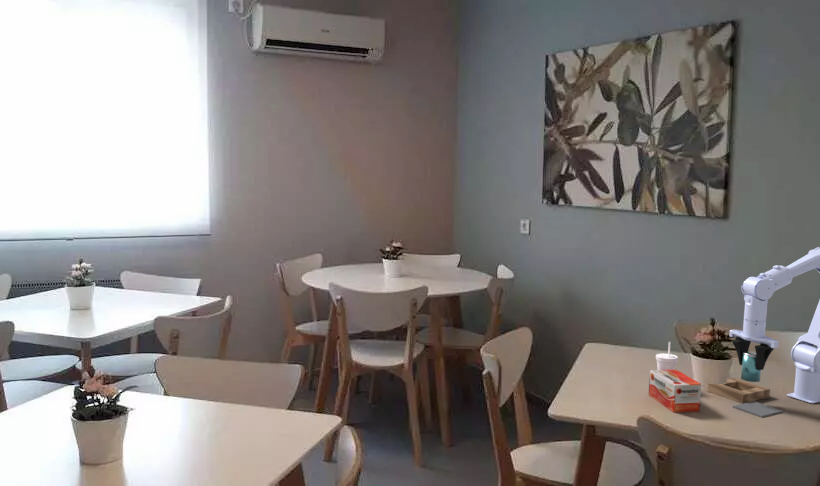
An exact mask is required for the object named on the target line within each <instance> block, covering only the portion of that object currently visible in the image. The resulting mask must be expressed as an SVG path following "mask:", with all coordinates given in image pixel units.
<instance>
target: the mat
mask: <svg viewBox="0 0 820 486" xmlns="http://www.w3.org/2000/svg"><path fill="white" fill-rule="evenodd" d="M732 408H734V409H737V410H739V411H741V412H745V413H748V414H751V415H753V416H756V417H760V418H764V417H768V416H769V417H770V416H773V415H776V414H781V413H783V412H784V410H781V409H778V408H774V407H772V406H769V405H765V404H763V403H761V402H758V401H751V402H747V403H740V404H736V405H732Z"/></svg>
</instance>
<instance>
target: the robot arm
mask: <svg viewBox="0 0 820 486" xmlns="http://www.w3.org/2000/svg"><path fill="white" fill-rule="evenodd" d="M812 270H815V271H816V272H818V273H819V274H820V246H818V247H816V248H814V249H810V250H809V251H808V253H807V254H806V255H804V256H802V257H801V258H799V259H797V260H795V261H794V262H791V264H789V265H787V266H784V265H777V264H776V265H773V266H772V269H770V270H767V271H765V272H761V273H759V275H757V276H750V277H747V278H746V279H745V280H744V281H743V283H742V285H741V286H740V288H741V289H740V290H741V293H742V294H743V301H744V311H743V323H742V330H739V329H730V330H729V332H728V333H729V337H731V338H734V339H732V342H731V343H732V345H733V346H734V348H735V350H736V354H737V359H738V364H739V365H740V366H742V359H743V352H744V351H749V349H750V345H751V343H755V344H758V345H754V349H755V352H756V356H757V361H756V369H757V370H761V371H763V370H764V369H765V366H766V363H767V360H768V358H769V357H770V355H771V354H772V352H773V351H774V350H775V349H778V348H779V347H780V340H779V339H778V340H777V339H774V338H772V337H769V336H767V335H766V327H767V326H766V325H767V311H768V302H769V299H771V298H772V296H773V295H774V293H775V292H776V291H778V290H780V289H782V288H785V287H786V286H788V285H790V284H791V283H792V282H793V279H794V278H795V277H797V276H799V275H802V274H804V273H806V272H809V271H812ZM790 357H791V360H792V361H793V362H794V366H795V375H794V378H795V379H794V389H793V392H791V393H787V394H786V396H788V397H790V398H794V399H797V400H799V401H803V402H806V403H809V404H816V403H820V299H819V301H818V303H817V306H816V309H815V312H814V313H813V317H812V319H811V323H810V325H809V328H808V331H807V333H805V334H802V335H801V336H799V337H798V339H797V341H796V343H795V344H794V345H793V346H792V347H791V351H790Z"/></svg>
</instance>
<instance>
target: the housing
mask: <svg viewBox="0 0 820 486" xmlns="http://www.w3.org/2000/svg"><path fill="white" fill-rule="evenodd" d="M726 380H727V381H726V382H725V383H723V384H707V392H708V393H711V394H715V395H716V396H720V397H723V398H726V399H728V400H731V401H734V402H737V401H738V403H740V404H744V403H748V402H753V401H755V402H757V401H759V400H764V399H768V398H770V396H771V388H768V387H766V386H765V387H764V386H762V385H758V384H755V383H752V382H750V381H745V380H743V379H741V378H740V379H739V378H736V377H734V378H728V379H726Z"/></svg>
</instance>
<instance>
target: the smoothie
mask: <svg viewBox="0 0 820 486" xmlns="http://www.w3.org/2000/svg"><path fill="white" fill-rule="evenodd" d="M671 344H672V343H671V341H668V350H667V353H664V352H662V353H656V354H655V359H656V365H657V369H656V370H674V369H677V368H676V367H677V362H678V361H679V357H678V356H677V355H675V354H672V353H671Z"/></svg>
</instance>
